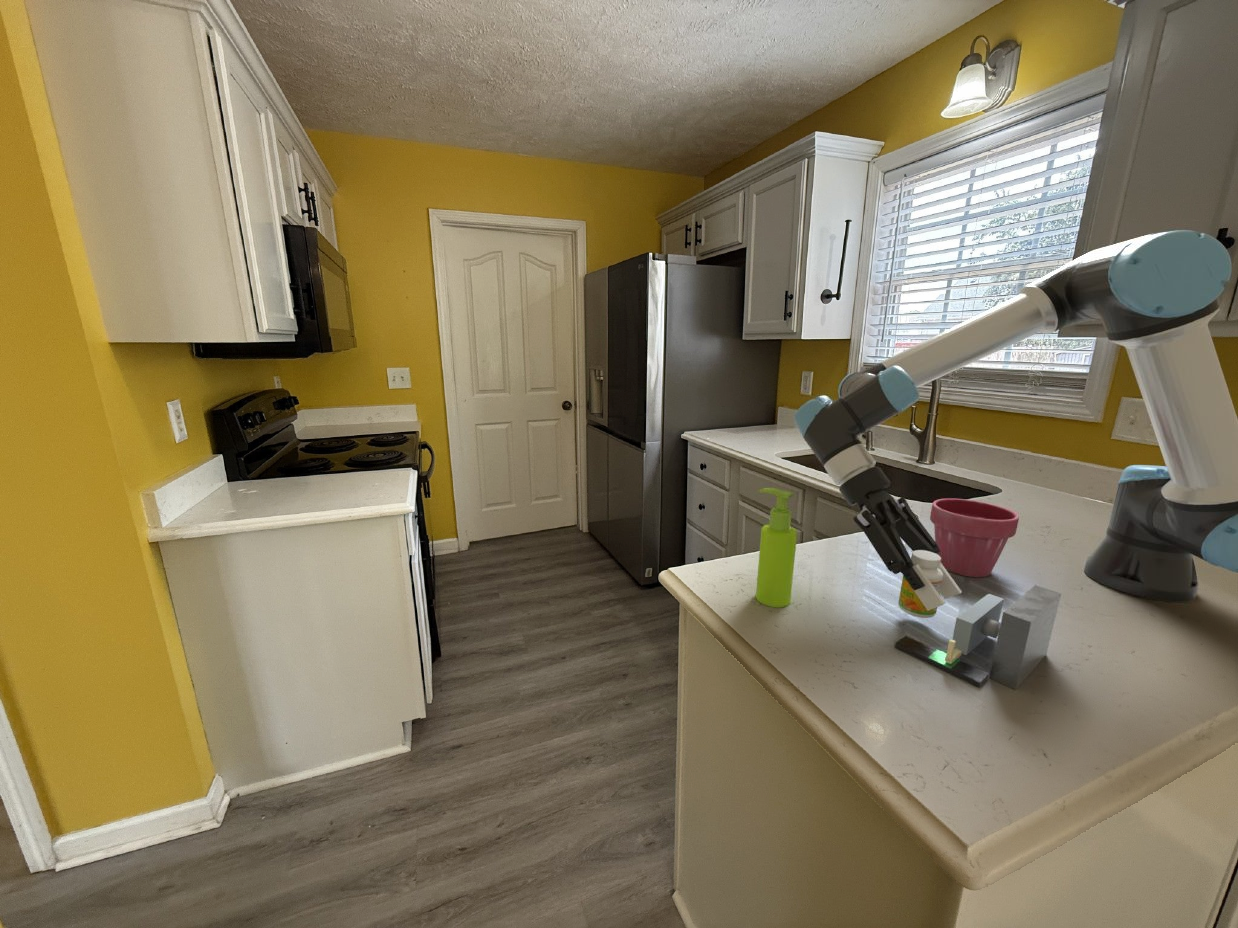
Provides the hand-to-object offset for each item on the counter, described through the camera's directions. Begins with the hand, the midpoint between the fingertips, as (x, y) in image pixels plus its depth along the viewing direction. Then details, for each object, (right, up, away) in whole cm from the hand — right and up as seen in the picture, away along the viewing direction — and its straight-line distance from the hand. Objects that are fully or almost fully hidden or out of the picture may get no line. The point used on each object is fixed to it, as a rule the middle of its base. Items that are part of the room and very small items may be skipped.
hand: (944, 600), depth 78 cm
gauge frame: (+1, -7, -3) cm, 8 cm away
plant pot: (+20, 0, +24) cm, 31 cm away
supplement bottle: (-2, -3, +4) cm, 5 cm away
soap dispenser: (-24, -3, +11) cm, 27 cm away
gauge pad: (+2, -6, -4) cm, 7 cm away
